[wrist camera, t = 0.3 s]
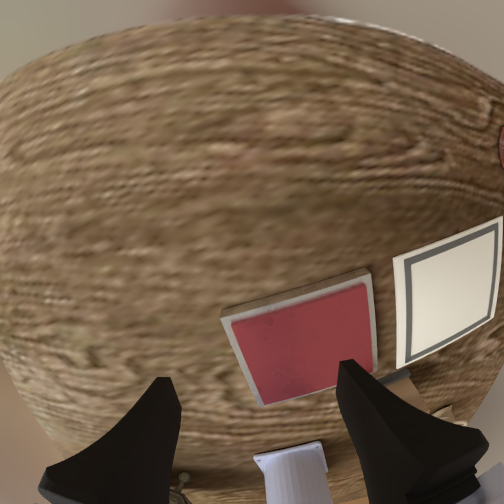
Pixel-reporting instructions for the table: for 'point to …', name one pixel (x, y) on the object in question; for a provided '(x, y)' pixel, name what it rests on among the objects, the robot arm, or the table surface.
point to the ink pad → (304, 336)
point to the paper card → (446, 289)
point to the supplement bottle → (501, 146)
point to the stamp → (404, 388)
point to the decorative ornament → (448, 416)
